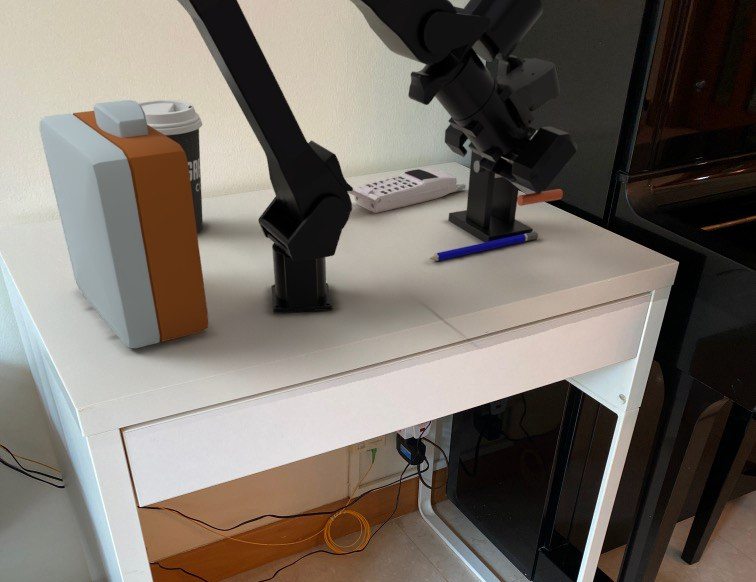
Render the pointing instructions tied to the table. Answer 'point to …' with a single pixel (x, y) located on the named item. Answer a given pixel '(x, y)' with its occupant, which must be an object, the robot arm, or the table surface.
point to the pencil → (484, 246)
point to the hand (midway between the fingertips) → (540, 189)
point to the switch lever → (535, 195)
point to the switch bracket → (489, 206)
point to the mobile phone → (405, 189)
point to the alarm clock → (128, 221)
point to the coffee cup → (180, 139)
